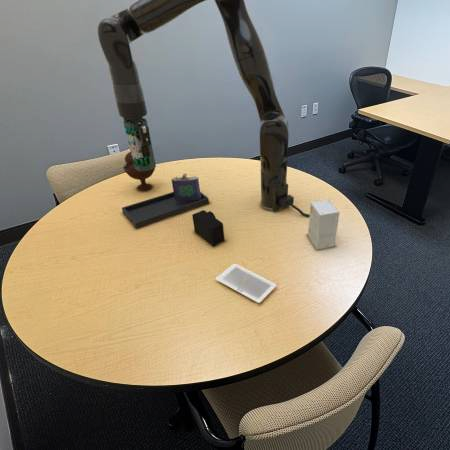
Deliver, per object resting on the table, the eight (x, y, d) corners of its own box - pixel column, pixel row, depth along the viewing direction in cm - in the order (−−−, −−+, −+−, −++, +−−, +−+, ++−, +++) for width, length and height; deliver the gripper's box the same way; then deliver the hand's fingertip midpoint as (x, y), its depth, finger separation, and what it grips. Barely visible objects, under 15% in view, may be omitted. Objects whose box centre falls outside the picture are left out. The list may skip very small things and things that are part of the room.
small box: (335, 246, 106) (340, 212, 99) (316, 250, 104) (320, 215, 97) (324, 232, 113) (328, 198, 105) (307, 235, 111) (310, 201, 103)
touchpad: (234, 266, 96) (234, 260, 95) (277, 287, 90) (277, 282, 89) (215, 281, 91) (214, 275, 90) (259, 306, 85) (259, 300, 83)
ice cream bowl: (150, 196, 125) (141, 159, 117) (123, 192, 127) (112, 155, 118) (165, 183, 134) (158, 148, 125) (139, 179, 135) (131, 144, 127)
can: (130, 168, 107) (119, 121, 98) (144, 161, 112) (134, 116, 103) (145, 172, 105) (135, 125, 97) (159, 165, 110) (150, 119, 101)
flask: (201, 197, 126) (197, 171, 119) (201, 201, 123) (197, 175, 117) (175, 199, 123) (170, 173, 117) (174, 203, 121) (169, 176, 115)
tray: (209, 203, 124) (208, 198, 122) (136, 229, 108) (135, 223, 107) (193, 190, 131) (192, 185, 129) (123, 213, 115) (121, 207, 114)
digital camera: (228, 239, 106) (226, 221, 102) (213, 246, 103) (211, 228, 99) (209, 225, 112) (206, 208, 108) (194, 232, 109) (192, 214, 105)
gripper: (153, 102, 94) (163, 158, 104) (133, 91, 103) (145, 143, 112) (125, 106, 90) (139, 164, 99) (107, 94, 98) (121, 148, 108)
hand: (142, 153), depth 106 cm, fingers closed on can, 6 cm apart
